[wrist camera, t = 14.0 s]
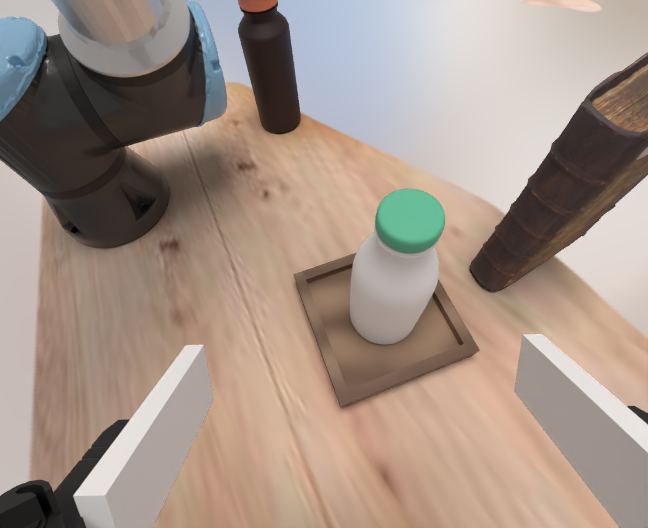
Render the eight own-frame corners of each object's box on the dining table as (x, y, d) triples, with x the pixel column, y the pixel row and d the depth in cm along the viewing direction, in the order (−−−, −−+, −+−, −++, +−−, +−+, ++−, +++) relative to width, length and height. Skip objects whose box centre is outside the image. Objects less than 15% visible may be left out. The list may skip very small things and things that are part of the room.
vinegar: (255, 115, 60) (218, -23, 42) (291, 102, 61) (269, -38, 43) (270, 139, 57) (237, 1, 39) (307, 125, 58) (291, -15, 40)
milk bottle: (399, 358, 38) (448, 284, 20) (338, 327, 40) (333, 235, 22) (425, 300, 41) (486, 191, 23) (366, 274, 43) (381, 155, 25)
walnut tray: (295, 282, 44) (293, 274, 42) (408, 243, 46) (411, 233, 44) (341, 408, 37) (340, 406, 35) (472, 355, 39) (479, 350, 37)
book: (488, 298, 42) (648, 137, 20) (451, 255, 45) (554, 73, 23) (587, 239, 45) (821, 43, 23) (546, 202, 48) (718, -3, 26)
